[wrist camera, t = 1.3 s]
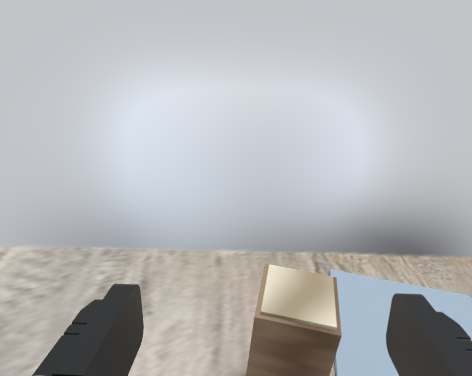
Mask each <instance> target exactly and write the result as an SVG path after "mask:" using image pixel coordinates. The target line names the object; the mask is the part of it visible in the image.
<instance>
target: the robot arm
mask: <svg viewBox="0 0 472 376" xmlns="http://www.w3.org/2000/svg"><path fill="white" fill-rule="evenodd" d="M143 328H144V325H143V314H142V303H141V293H140V287H139V285H135V284H114V285H113V286H112V287H111V288H110V290H109V291H108V293H107V294H106V296H105V297H104V299H103V300H94V301H93V302H91V303H90V304H89V305H87V306H86V307H84V308H83V309H82V310H81V311H80V312H79V313H78V315H77V316H76V317H75V319H74V320H73V321H72V325H70V326H69V327H68V328H67V330H66V331H65V332H64V335H63V336H61V338H60V339H59V340H58V342H57V343H56V344H55V346H54V347H53V348H52V350H51V351H50V352H49V354H48V355H47V356H46V358H45V359H44V360H43V362H42V363H41V364H40V366H39V367H38V369H37V370H36V371H35V373H34V374H33V375H32V376H128V374H129V371H130V369H131V366H132V364H133V362H134V359H135V357H136V355H137V352H138V350H139V348H140V345H141V342H142V337H143ZM386 345H387V350H388V354H389V356H390V358H391V360H392V362H393V364H394V367H395V369H396V371H397V373H398V375H399V376H472V341H471V338H470V337H469V335H468V334H467V333H466V332H465V331H464V329H463V328H462V327H461V326H460V325H459V324H458V323H457V322H456V321H454V320H453V319H451V318H450V317H448V316H447V315H446V314H444V313H443V312H436V311H435V310H434V308H433V307H432V306H431V304H430V303H429V302H428V301H427V299H426V298H425V297H424V296H423V295H421V294H401V293H396V294H394V295H393V297H392V302H391V308H390V314H389V320H388V326H387V331H386Z"/></svg>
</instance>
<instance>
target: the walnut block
mask: <svg viewBox="0 0 472 376" xmlns="http://www.w3.org/2000/svg"><path fill="white" fill-rule="evenodd" d="M341 337H342V334H341V323H340V312H339V301H338V289H337V278H336V277H332V276H327V275H322V274H316V273H311V272H306V271H301V270H296V269H290V268H285V267H280V266H275V265H270V264H265V267H264V272H263V277H262V282H261V287H260V292H259V297H258V302H257V307H256V312H255V317H254V324H253V331H252V338H251V345H250V352H249V359H248V366H247V373H246V376H329V375H330V372H331V368H332V365H333V362H334V359H335V356H336V352H337V349H338V346H339V343H340V340H341Z"/></svg>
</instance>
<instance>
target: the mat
mask: <svg viewBox="0 0 472 376" xmlns="http://www.w3.org/2000/svg"><path fill="white" fill-rule="evenodd" d="M329 276H332V277H336V278H337V289H338V301H339V312H340V323H341V334H342V337H341V340H340V343H339V346H338V349H337V352H336V356H335V374H336V376H399V375H398V373H397V371H396V369H395V367H394V364H393V362H392V360H391V358H390V356H389V354H388V350H387V345H386V331H387V326H388V320H389V314H390V308H391V302H392V297H393V295H394V294H396V293H401V294H421V295H423V296H424V297H425V298H426V299H427V301H428V302H429V303H430V304H431V306H432V307H433V308H434V310H435V311H436V312H443V313H444V314H446V315H447V316H448V317H450V318H451V319H453V320H454V321H456V322H457V323H458V324H459V325H460V326H461V327H462V328H463V329H464V331H465V332H466V333H467V334H468V335H469V337H470V338H471V341H472V299H471V297H470V296H469V295H463V294H458V293H453V292H447V291H442V290H437V289H432V288H426V287H421V286H416V285H411V284H405V283H400V282H395V281H389V280H384V279H379V278H374V277H368V276H363V275H358V274H353V273H347V272H342V271H337V270H332V269H330V272H329Z"/></svg>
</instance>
